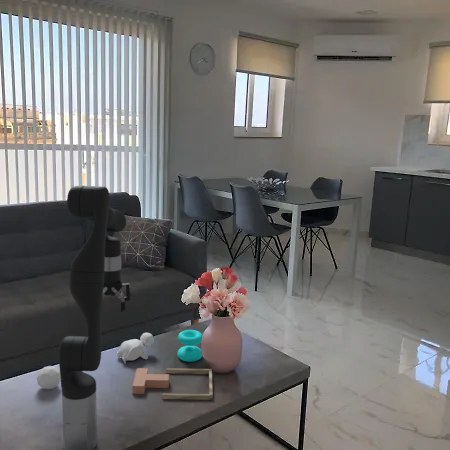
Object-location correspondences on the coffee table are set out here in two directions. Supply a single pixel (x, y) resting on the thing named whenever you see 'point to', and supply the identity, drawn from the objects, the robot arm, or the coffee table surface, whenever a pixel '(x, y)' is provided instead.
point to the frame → (190, 396)
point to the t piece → (148, 381)
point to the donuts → (190, 345)
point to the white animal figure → (135, 347)
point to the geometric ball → (48, 377)
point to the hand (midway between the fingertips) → (110, 310)
